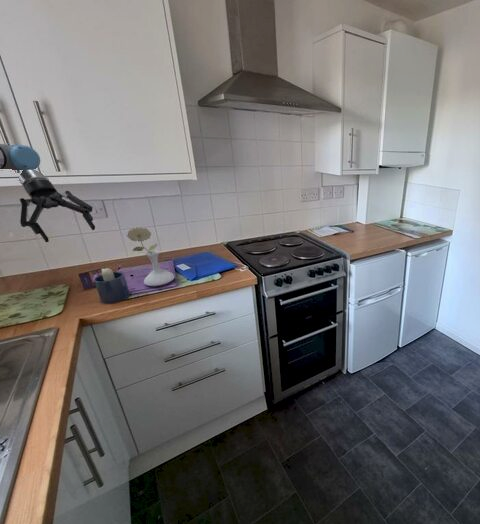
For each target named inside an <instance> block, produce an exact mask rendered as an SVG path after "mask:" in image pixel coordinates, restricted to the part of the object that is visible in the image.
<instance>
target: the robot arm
mask: <svg viewBox="0 0 480 524" xmlns="http://www.w3.org/2000/svg"><path fill="white" fill-rule="evenodd" d="M8 144H9V143H6V144H5V143H0V169H12V170H23V171H22V173H21V174H20V177H19V180H18V182H19V181H20V182H19V183H20V185H21V184H22V185H21V186H22V187H23V189H24V191H25V192H26V193H27V195H28V196H29V198H24V197H21V198H19V202H20V205H21V209H20V219H19V223H20V226H21V227H22V228H25V227H29V228H30V229H31V230H32V231H33V233H34V234H35V235H40V236H41V238H42V239H43V241H44V242H45V243H50V242H49V240H50V239H49V237H48V235H47V234H46V233H45V231H44V230H43V228H42V227H41V226H40V224H39V223H38V219H39V217H40V216H41V213H42V212H43V210H44V209H46V210H49V209H52V208H58V207H59V206H60V207H62V208H66V209H69V210H71V211H75V212H77V213H80V214H82V218H83V219H84V220H85V222H86V223H87V225H88V226H89V228H90V229H91V230H92V231H94V230H96V225H95V224H94V222H93V221H94V218H93V216H92V215H91V213H92V212H93V206H91V205H90V204H88V203H87V202H85V201H83V200H82V199H80V198H78V197H77V196H76V195H73V194H72V192H71V191H70V190H65V192H61V193H60V192H59V191H58V190H57V189H56V188H55V185H53V183H52V182H51V181H49V180H50V178H49V177H48V176H47V175H46V176H47V177H48V178H47V177H46V176H44V175H43V174H42V173H40V172H38V171H36V170H34V169H36V168H37V167H38V166H40V164H41V157H40V155H39V153H38V152H37V151H36V150H35V149H34V148H32V147H30V146H28V145H24V144H23V145H22V144H20V145H8ZM67 200H69V201H70V202H69V201H67ZM31 204H33V205H36V206H35V208H34V210H33V213H32V214H31V216H30V218H29V219H28V213H29V212H28V211H29V207H30V205H31Z"/></svg>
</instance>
